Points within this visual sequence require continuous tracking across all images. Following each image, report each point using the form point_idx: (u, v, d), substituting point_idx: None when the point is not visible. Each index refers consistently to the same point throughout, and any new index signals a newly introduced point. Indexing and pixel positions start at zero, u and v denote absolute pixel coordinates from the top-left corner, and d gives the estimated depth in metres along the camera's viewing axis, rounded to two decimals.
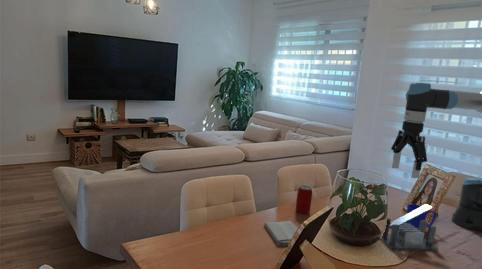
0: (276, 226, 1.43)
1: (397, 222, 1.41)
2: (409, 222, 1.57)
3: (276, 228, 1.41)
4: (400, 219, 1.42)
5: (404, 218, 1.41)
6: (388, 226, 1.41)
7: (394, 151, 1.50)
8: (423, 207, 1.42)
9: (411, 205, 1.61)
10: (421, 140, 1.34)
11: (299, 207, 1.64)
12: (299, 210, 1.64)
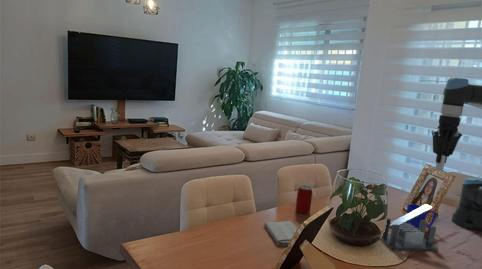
0: (276, 226, 1.43)
1: (397, 222, 1.41)
2: (409, 222, 1.57)
3: (276, 228, 1.40)
4: (400, 219, 1.42)
5: (404, 218, 1.41)
6: (388, 226, 1.41)
7: (442, 153, 1.49)
8: (423, 207, 1.42)
9: (411, 205, 1.61)
10: (433, 134, 1.46)
11: (299, 207, 1.64)
12: (299, 210, 1.64)
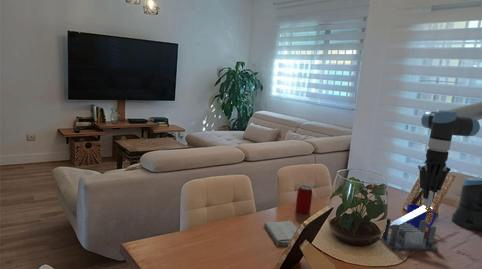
0: (276, 226, 1.43)
1: (397, 222, 1.41)
2: (409, 222, 1.57)
3: (276, 228, 1.40)
4: (400, 219, 1.42)
5: (404, 218, 1.41)
6: (388, 226, 1.41)
7: None
8: (423, 207, 1.42)
9: (411, 205, 1.61)
10: (420, 169, 1.38)
11: (299, 207, 1.64)
12: (299, 210, 1.64)
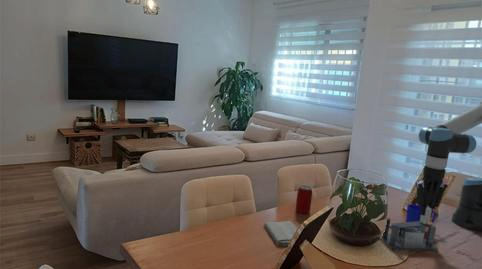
0: (276, 226, 1.42)
1: None
2: None
3: (276, 228, 1.40)
4: (401, 224, 1.42)
5: (405, 224, 1.42)
6: (388, 225, 1.41)
7: (428, 204, 1.43)
8: None
9: (411, 205, 1.61)
10: (417, 186, 1.40)
11: (299, 207, 1.64)
12: (299, 210, 1.64)
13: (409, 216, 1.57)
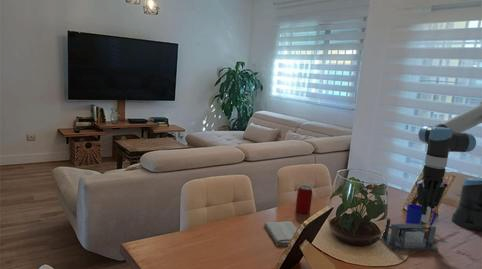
0: (276, 226, 1.42)
1: None
2: (409, 222, 1.57)
3: (276, 228, 1.40)
4: (401, 225, 1.42)
5: (405, 225, 1.42)
6: (388, 225, 1.41)
7: None
8: (425, 225, 1.44)
9: (411, 205, 1.61)
10: (418, 186, 1.40)
11: (299, 207, 1.64)
12: (299, 210, 1.64)
13: (409, 216, 1.57)
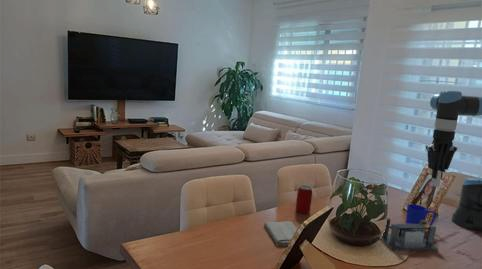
0: (276, 226, 1.42)
1: None
2: (409, 222, 1.57)
3: (276, 228, 1.40)
4: (401, 225, 1.42)
5: (405, 225, 1.42)
6: (388, 225, 1.41)
7: None
8: (425, 225, 1.44)
9: (411, 205, 1.61)
10: (428, 150, 1.41)
11: (299, 207, 1.64)
12: (299, 210, 1.64)
13: (409, 216, 1.57)
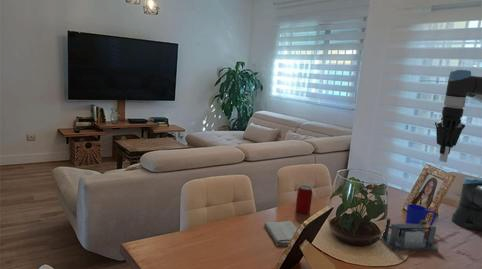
0: (276, 226, 1.42)
1: None
2: (409, 222, 1.57)
3: (276, 228, 1.40)
4: (401, 225, 1.42)
5: (405, 225, 1.42)
6: (388, 225, 1.41)
7: None
8: (425, 225, 1.44)
9: (411, 205, 1.61)
10: (437, 126, 1.48)
11: (299, 207, 1.64)
12: (299, 210, 1.64)
13: (409, 216, 1.57)
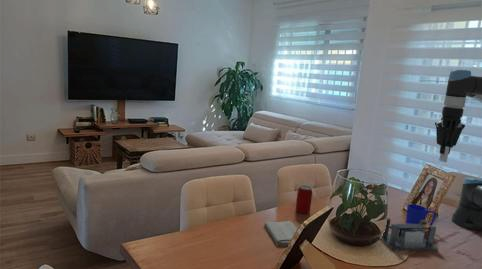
0: (276, 226, 1.42)
1: None
2: (409, 222, 1.57)
3: (276, 228, 1.40)
4: (401, 225, 1.42)
5: (405, 225, 1.42)
6: (388, 225, 1.41)
7: None
8: (425, 225, 1.44)
9: (411, 205, 1.61)
10: (437, 126, 1.48)
11: (299, 207, 1.64)
12: (299, 210, 1.64)
13: (409, 216, 1.57)
